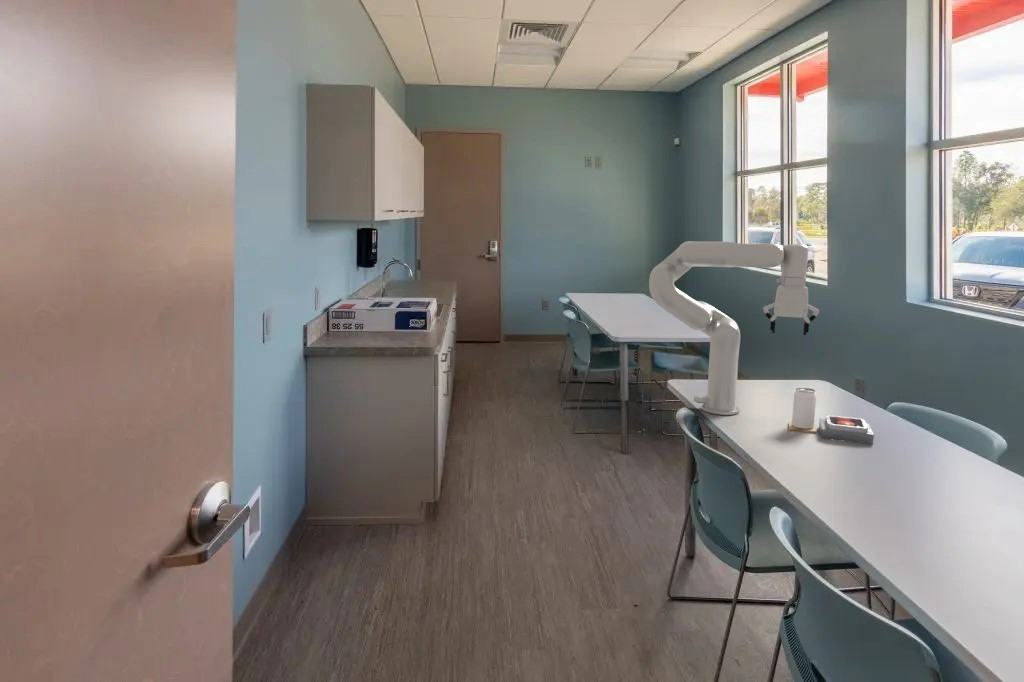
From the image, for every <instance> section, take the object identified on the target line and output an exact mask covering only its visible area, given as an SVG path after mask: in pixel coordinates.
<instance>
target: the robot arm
mask: <svg viewBox="0 0 1024 682" xmlns="http://www.w3.org/2000/svg"><path fill="white" fill-rule="evenodd" d="M808 256H809V248H808V246H807V245H806V244H798V243H796V244H794V243H791V244H778V243H773V242H772V243H771V242H769V243H740V242H734V241H698V240H697V241H693V240H692V241H691V240H688V241H685V242H683V243H681V244H680V245H679V247H677V248H676V249H674V251H673V252H672V253H671V254H669V255H668V256H667V257H666V258H665V259H664V260H662V261H661V262H660V263H659V264H657V265H656V266H655V267H653V268H652V271H651V272H650V274H649V281H648V287H649V288H648V289H649V292H650V296H651V298H652V299H653V301H654V302H655V303H656V304H657V305H658V306H659V307H660V308H662V309H663V310H664V311H666V312H667V313H669V314H670V315H672V316H673V317H674V318H676V319H677V320H679V321H681V322H682V323H683V324H685V325H686V326H687V327H689V328H690V329H691V330H695V331H700V332H701V333H703V334H705V336H708V337H709V339H710V341H709V358H708V374H707V376H708V377H707V391H706V393H707V394H706V396H703V397H702V396H698V395H697V396H693V402H696V404H702V405H701V410H702V411H704V412H706V413H708V414H714V415H717V416H731V415H732V416H733V415H737V414H740V409H741V408H740V407H738V406H737V405H736V401H737V399H736V398H737V397H736V396H737V384H738V383H737V382H738V370H739V369H738V367H739V356H740V348H741V347H740V346H741V330H740V328H739V325H738V323H737V322H736V320H734V319H733V318H731V317H729V316H728V315H726V314H725V313H723V311H722V312H721V311H720V310H718V309H717V308H715V307H714V306H712V305H711V304H710V303H707V302H706V301H703V300H695V299H694V298H692V297H691V296H689V295H688V294H687V293H685V292H684V291H681V290H680V289H678V288H677V287H676V285H675V282H676V281H678V280H679V279H680V278H681V277H682V276H683V275H684V274H685V273H687V272H688V271H689V270H690V269H691V268H692V267H695V268H696V267H699V268H700V267H701V268H703V267H705V268H707V267H708V268H711V267H713V268H739V267H740V268H741V267H742V268H775V267H778V266H781V275H780V277H777V278H776V280H775V282H776V283H778V284H780V285H778V286H777V288H776V293H775V300H774V302H773V303H770V304H768V305H765V306H763V307H762V310H763V313H764V314H765V317H767V318H768V319H769V320H770V329H769V330H770V331H772V332H771V333H772V334H775V333H776V332H775V330H776V319H777V318H779V317H783V318H784V317H785V318H799V319H800V318H802V319H803V320H804V324H803V330H802V331H803V332H802V333H803V335H804V336H807V333H808V334H809V330H810V328H809V327H810V323H811V322H813V321H814V320H815V319H816V317H817V316H818V315H819V314H820V309H818V308H816V307H814V306H812V305H811V304H809V289H808V286H806V283H807V282H806V280H807V269H808V258H809V257H808ZM773 308H774V309H773ZM771 309H773V313H774V314H773V315H772V314H771V313H770V311H769V310H771ZM808 310H809V311H812V312H813V313H812V314H811V315H810V317H809V316H808Z"/></svg>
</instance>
